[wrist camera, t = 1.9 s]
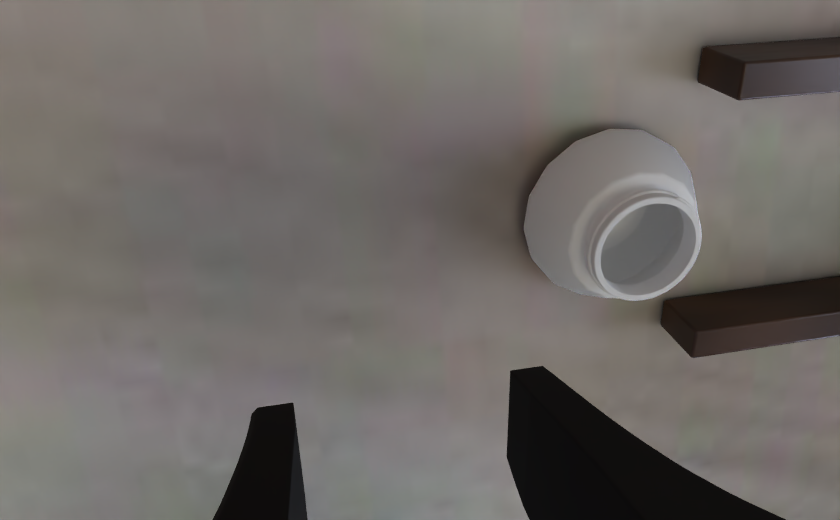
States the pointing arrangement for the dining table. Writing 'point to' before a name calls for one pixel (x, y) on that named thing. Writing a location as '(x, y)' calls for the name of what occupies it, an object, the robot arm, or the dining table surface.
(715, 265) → the dining table surface
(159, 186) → the dining table surface
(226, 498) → the robot arm
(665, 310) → the frame
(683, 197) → the lidless jar
